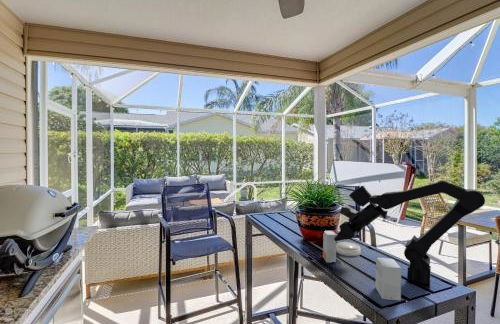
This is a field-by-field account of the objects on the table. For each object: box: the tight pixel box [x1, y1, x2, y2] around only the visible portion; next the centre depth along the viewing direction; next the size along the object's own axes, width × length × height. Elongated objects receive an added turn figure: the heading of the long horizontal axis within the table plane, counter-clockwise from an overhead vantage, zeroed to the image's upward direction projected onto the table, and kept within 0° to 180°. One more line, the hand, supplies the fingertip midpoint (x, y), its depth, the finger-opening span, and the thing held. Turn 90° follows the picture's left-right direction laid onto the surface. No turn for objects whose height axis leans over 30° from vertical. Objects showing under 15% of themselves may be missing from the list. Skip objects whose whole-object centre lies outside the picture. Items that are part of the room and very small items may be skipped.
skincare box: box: [322, 230, 337, 263], centre depth 115 cm, size 6×4×12 cm
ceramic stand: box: [336, 241, 361, 257], centre depth 125 cm, size 11×11×3 cm
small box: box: [374, 257, 402, 302], centre depth 87 cm, size 8×6×10 cm
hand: (338, 237), depth 113 cm, fingers open, 9 cm apart
